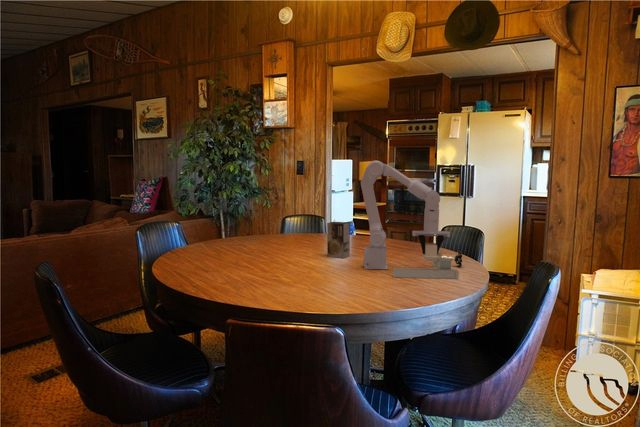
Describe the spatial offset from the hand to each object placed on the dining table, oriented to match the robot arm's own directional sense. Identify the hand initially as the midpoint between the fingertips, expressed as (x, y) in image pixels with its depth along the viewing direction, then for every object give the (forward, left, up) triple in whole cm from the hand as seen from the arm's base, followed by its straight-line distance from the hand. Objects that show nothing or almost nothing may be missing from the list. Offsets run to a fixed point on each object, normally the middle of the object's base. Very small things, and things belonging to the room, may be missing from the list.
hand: (430, 253), depth 172 cm
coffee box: (-38, +25, -7) cm, 46 cm away
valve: (+8, +8, -7) cm, 14 cm away
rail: (-4, -10, -7) cm, 12 cm away
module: (0, -1, -2) cm, 2 cm away
